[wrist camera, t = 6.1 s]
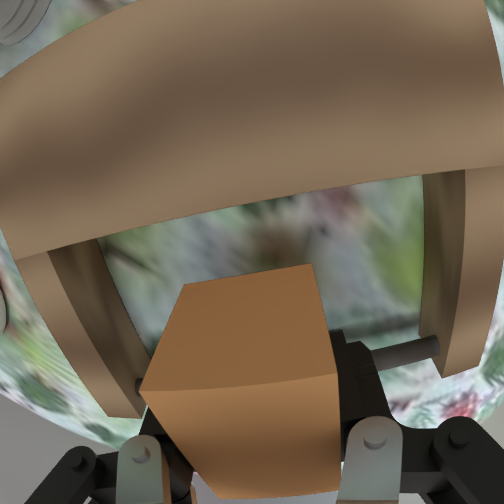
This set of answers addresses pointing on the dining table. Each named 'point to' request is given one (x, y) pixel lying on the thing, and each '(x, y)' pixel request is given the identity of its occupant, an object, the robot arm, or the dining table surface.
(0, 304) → the mug
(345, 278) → the dining table surface
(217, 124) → the shelf
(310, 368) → the tall cardboard carton
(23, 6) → the chalice
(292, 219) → the dining table surface
